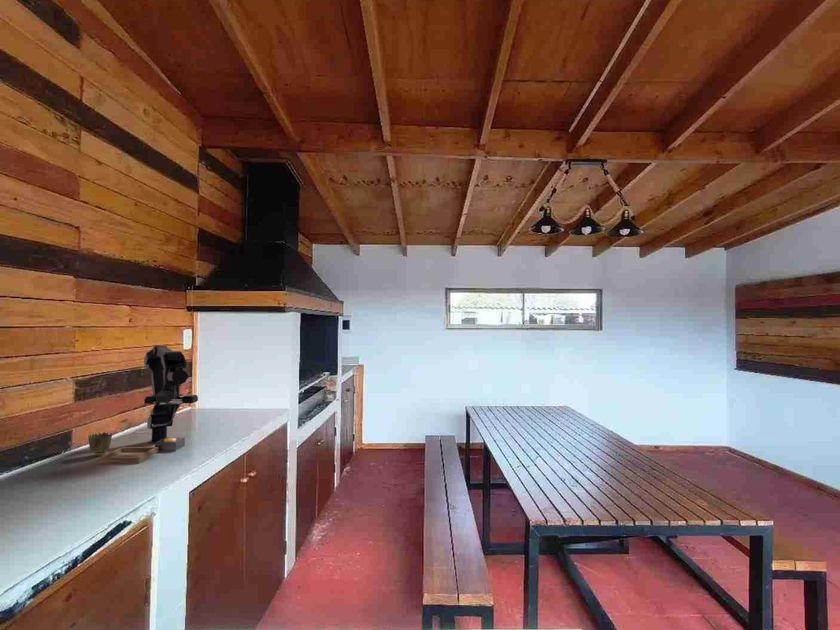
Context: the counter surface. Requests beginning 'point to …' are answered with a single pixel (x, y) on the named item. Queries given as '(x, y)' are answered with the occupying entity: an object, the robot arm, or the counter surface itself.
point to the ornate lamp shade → (100, 443)
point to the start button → (170, 440)
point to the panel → (170, 444)
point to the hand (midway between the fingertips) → (170, 420)
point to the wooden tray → (128, 455)
